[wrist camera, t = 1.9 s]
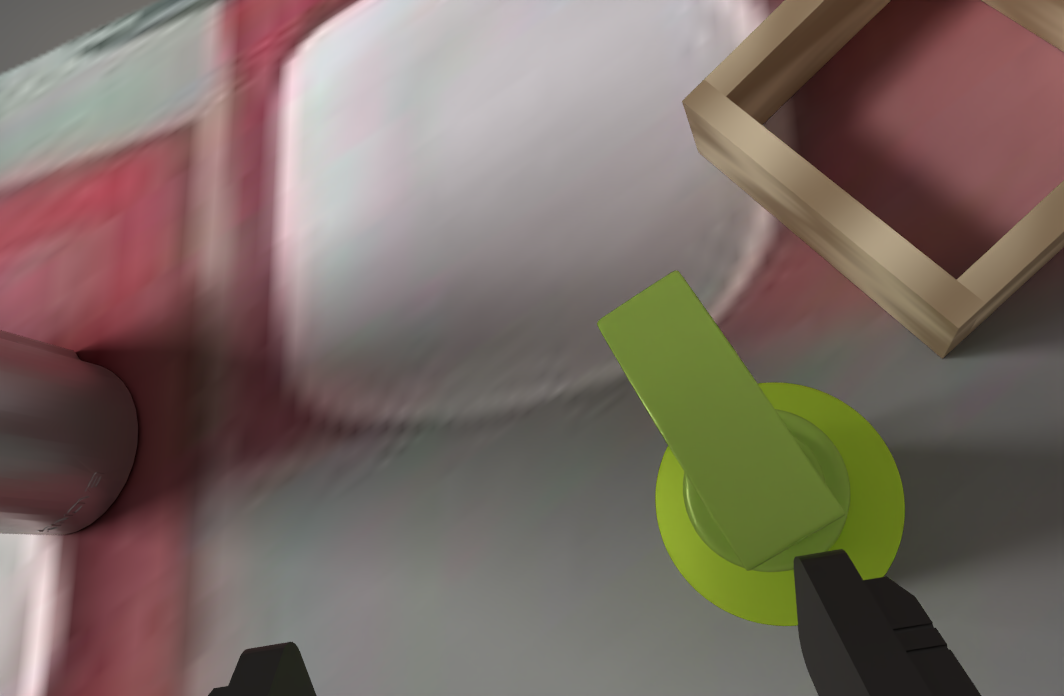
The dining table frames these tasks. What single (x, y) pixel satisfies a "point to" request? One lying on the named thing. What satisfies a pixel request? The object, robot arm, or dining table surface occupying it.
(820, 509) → the soap dispenser
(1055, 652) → the dining table surface
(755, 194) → the open square wooden frame
